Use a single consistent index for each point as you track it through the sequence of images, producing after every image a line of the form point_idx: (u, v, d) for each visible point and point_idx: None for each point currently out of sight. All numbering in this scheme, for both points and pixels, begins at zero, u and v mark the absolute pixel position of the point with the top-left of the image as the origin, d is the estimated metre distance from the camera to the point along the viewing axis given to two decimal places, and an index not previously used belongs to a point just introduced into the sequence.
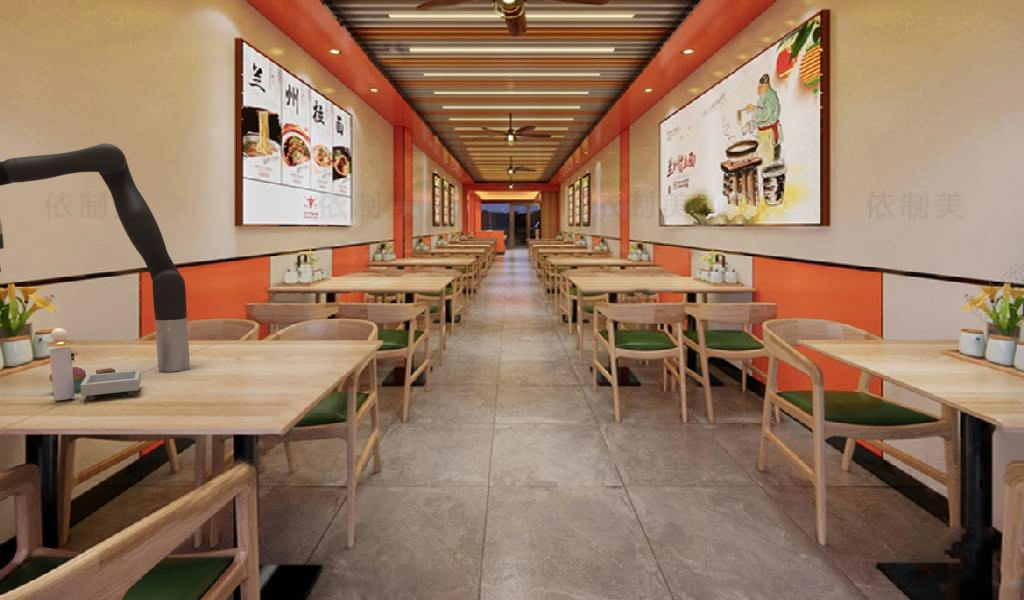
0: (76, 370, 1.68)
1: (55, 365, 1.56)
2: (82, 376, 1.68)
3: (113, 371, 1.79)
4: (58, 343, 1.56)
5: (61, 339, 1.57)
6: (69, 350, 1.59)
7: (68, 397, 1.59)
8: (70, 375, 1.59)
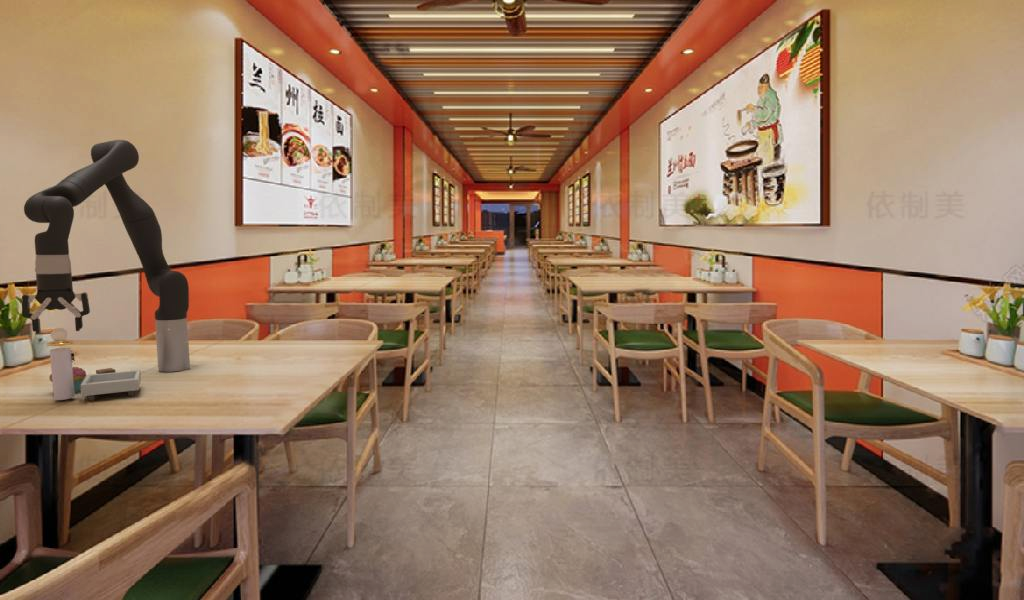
0: (76, 370, 1.68)
1: (55, 365, 1.56)
2: (82, 376, 1.68)
3: (113, 371, 1.79)
4: (58, 343, 1.56)
5: (61, 339, 1.57)
6: (69, 350, 1.59)
7: (68, 397, 1.59)
8: (70, 375, 1.59)
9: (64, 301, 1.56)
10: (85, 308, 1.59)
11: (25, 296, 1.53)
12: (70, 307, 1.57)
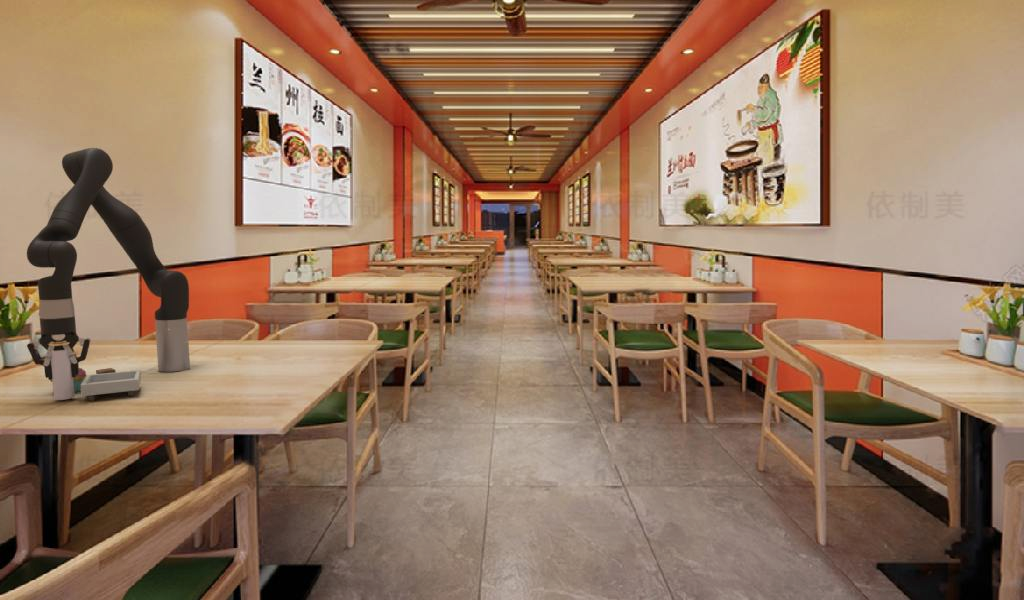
0: None
1: (55, 365, 1.56)
2: (82, 376, 1.68)
3: (113, 371, 1.79)
4: (58, 343, 1.56)
5: (61, 339, 1.57)
6: None
7: (68, 397, 1.59)
8: (70, 375, 1.59)
9: (67, 345, 1.57)
10: (83, 354, 1.60)
11: (30, 345, 1.54)
12: (70, 352, 1.58)
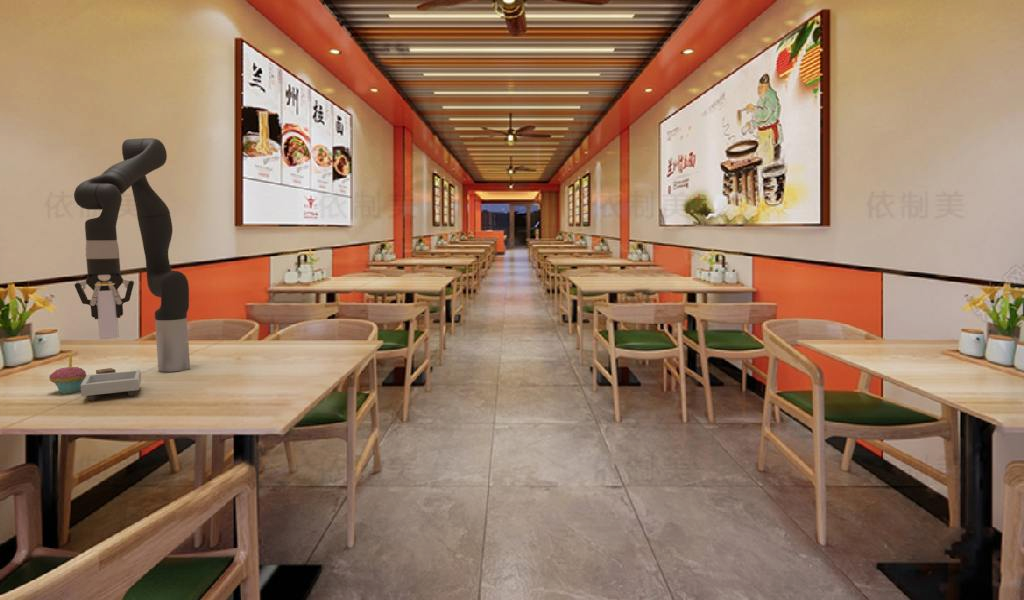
0: (76, 370, 1.68)
1: (101, 305, 1.61)
2: (82, 376, 1.68)
3: (113, 371, 1.79)
4: (104, 283, 1.60)
5: (107, 280, 1.61)
6: None
7: (113, 337, 1.63)
8: (115, 315, 1.63)
9: (112, 285, 1.62)
10: (127, 295, 1.64)
11: (77, 284, 1.58)
12: (115, 293, 1.62)
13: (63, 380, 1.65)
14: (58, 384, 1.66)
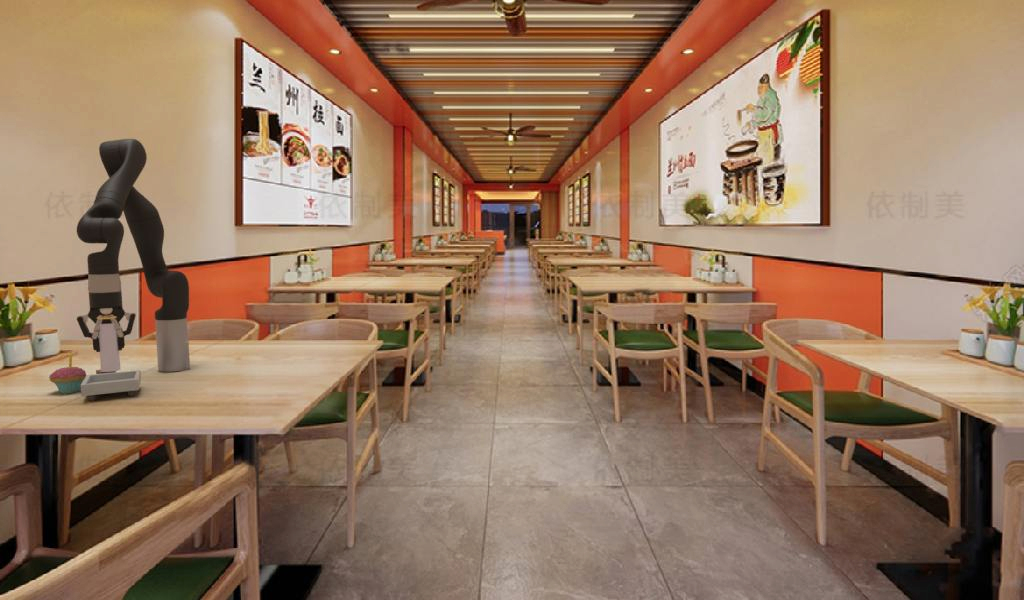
0: (76, 370, 1.68)
1: (103, 338, 1.62)
2: (82, 376, 1.68)
3: (113, 371, 1.79)
4: (106, 317, 1.61)
5: (108, 313, 1.62)
6: None
7: (115, 369, 1.64)
8: (117, 348, 1.64)
9: (114, 319, 1.63)
10: (129, 328, 1.65)
11: (79, 318, 1.59)
12: (117, 326, 1.63)
13: (63, 380, 1.65)
14: (58, 384, 1.66)
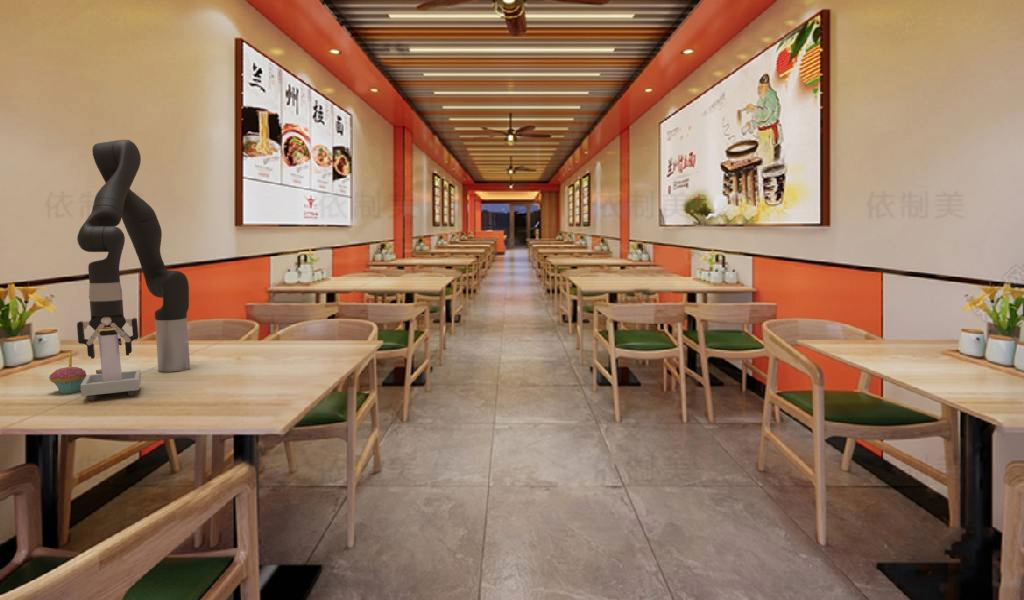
0: (76, 370, 1.68)
1: (104, 349, 1.62)
2: (82, 376, 1.68)
3: None
4: (106, 328, 1.62)
5: None
6: (116, 335, 1.64)
7: (116, 380, 1.64)
8: (118, 359, 1.65)
9: (116, 326, 1.63)
10: (135, 333, 1.66)
11: (80, 323, 1.59)
12: (121, 332, 1.64)
13: (63, 380, 1.65)
14: (58, 384, 1.66)
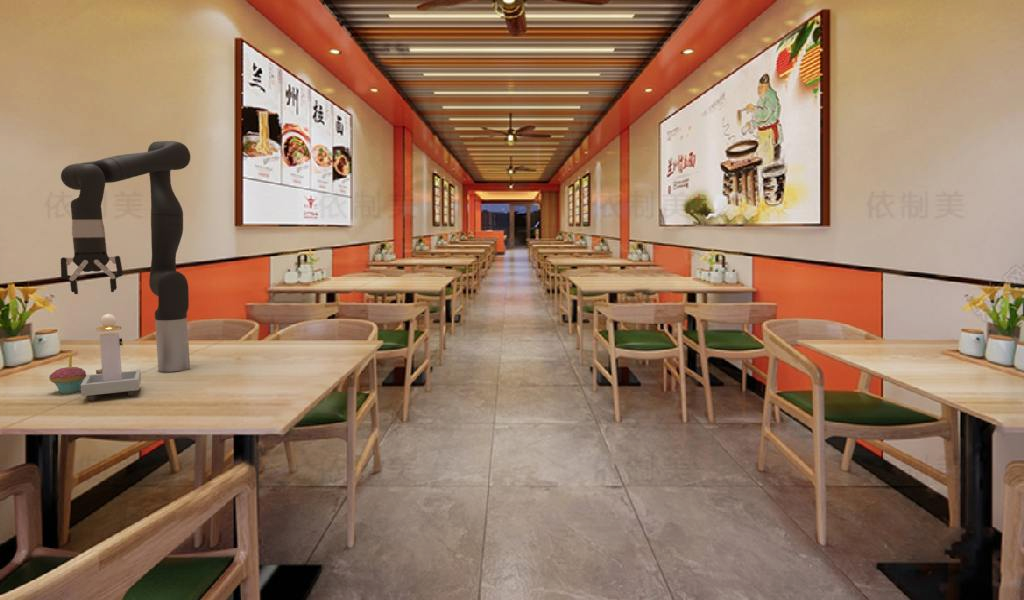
0: (76, 370, 1.68)
1: (105, 349, 1.62)
2: (82, 376, 1.68)
3: None
4: (108, 328, 1.62)
5: (110, 324, 1.63)
6: (118, 335, 1.64)
7: None
8: (118, 359, 1.65)
9: (99, 263, 1.66)
10: (119, 270, 1.69)
11: (63, 259, 1.62)
12: (105, 269, 1.67)
13: (63, 380, 1.65)
14: (58, 384, 1.66)
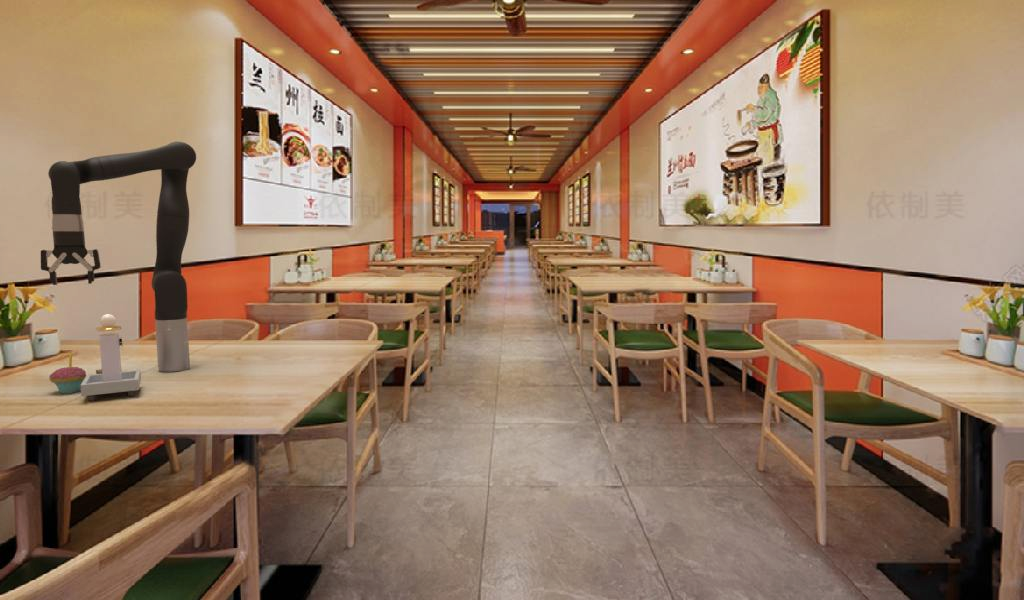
0: (76, 370, 1.68)
1: (104, 350, 1.62)
2: (82, 376, 1.68)
3: None
4: (108, 328, 1.62)
5: (110, 325, 1.63)
6: (117, 335, 1.64)
7: None
8: (118, 359, 1.65)
9: (78, 256, 1.75)
10: (96, 263, 1.78)
11: (43, 251, 1.72)
12: (83, 262, 1.76)
13: (63, 380, 1.65)
14: (58, 384, 1.66)
